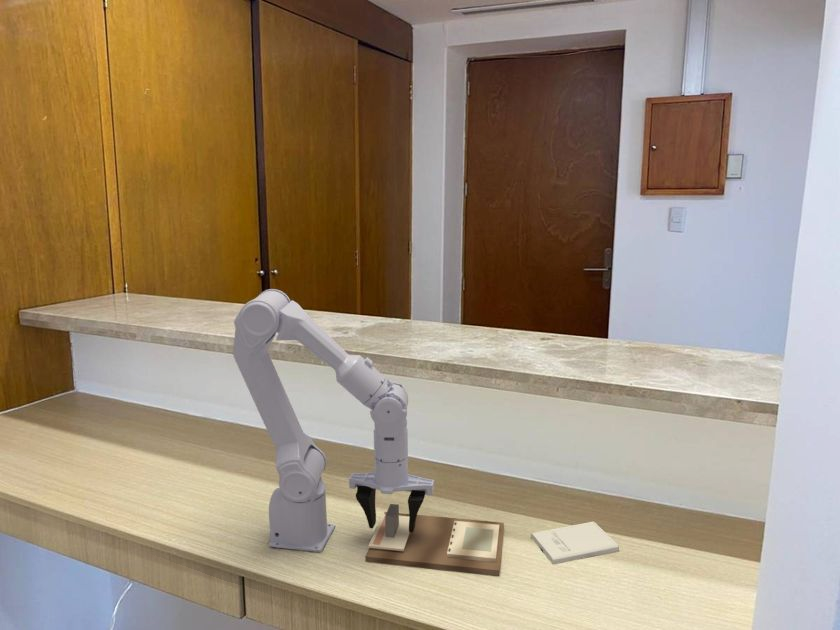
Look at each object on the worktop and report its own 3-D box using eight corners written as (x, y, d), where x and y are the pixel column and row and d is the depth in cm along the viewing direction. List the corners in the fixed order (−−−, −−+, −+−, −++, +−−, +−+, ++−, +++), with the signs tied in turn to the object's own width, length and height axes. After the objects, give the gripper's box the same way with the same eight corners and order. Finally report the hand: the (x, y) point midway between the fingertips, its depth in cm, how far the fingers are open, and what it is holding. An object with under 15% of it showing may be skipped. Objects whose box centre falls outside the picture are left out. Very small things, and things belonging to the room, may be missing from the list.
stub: (368, 547, 107) (367, 524, 106) (382, 516, 116) (381, 494, 115) (403, 551, 106) (403, 527, 105) (414, 519, 115) (414, 497, 114)
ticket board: (365, 561, 105) (365, 552, 105) (384, 516, 119) (384, 507, 118) (499, 575, 101) (499, 565, 101) (503, 527, 115) (503, 518, 114)
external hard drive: (618, 554, 108) (552, 567, 104) (592, 528, 116) (530, 539, 112) (619, 545, 107) (553, 558, 104) (593, 520, 115) (530, 531, 112)
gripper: (342, 462, 105) (345, 536, 108) (429, 469, 103) (429, 544, 106) (354, 444, 112) (356, 514, 115) (436, 450, 109) (436, 521, 112)
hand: (392, 527), depth 111 cm, fingers open, 6 cm apart
